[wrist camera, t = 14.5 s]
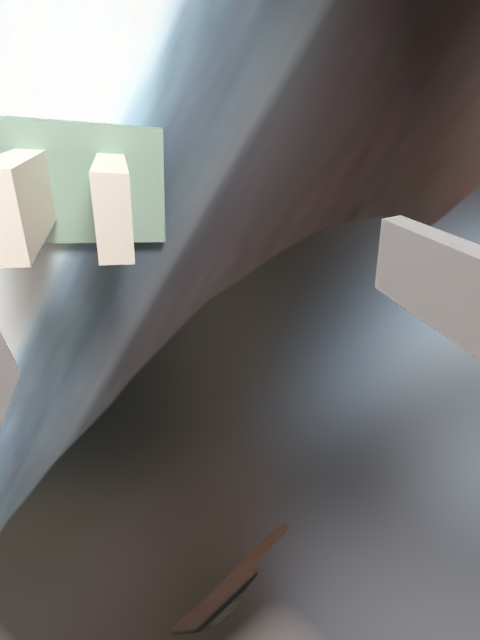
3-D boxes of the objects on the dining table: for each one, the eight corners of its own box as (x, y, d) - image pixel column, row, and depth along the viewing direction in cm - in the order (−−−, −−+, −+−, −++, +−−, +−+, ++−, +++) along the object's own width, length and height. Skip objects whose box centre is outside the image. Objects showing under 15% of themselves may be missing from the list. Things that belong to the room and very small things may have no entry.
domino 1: (45, 150, 27) (10, 169, 18) (56, 218, 29) (30, 267, 20) (14, 148, 26) (-38, 167, 17) (28, 218, 29) (-12, 268, 20)
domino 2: (124, 154, 28) (129, 174, 19) (128, 219, 31) (135, 264, 22) (96, 152, 28) (88, 172, 19) (103, 219, 30) (99, 265, 21)
